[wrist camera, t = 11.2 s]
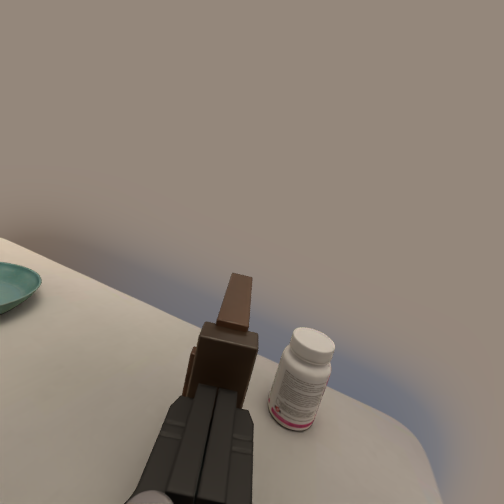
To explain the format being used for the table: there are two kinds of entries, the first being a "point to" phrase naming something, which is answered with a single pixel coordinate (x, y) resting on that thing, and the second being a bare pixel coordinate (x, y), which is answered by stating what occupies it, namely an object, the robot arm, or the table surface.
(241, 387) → the window pane
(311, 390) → the pill bottle
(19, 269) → the saucer
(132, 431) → the table surface
